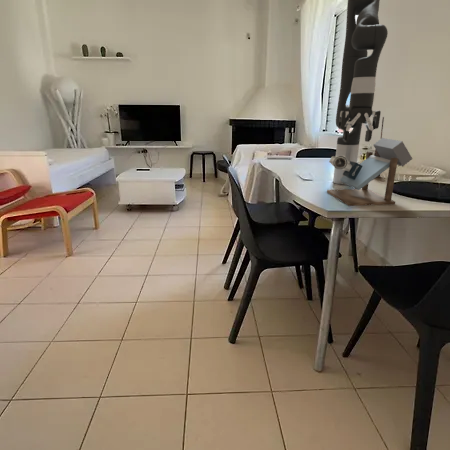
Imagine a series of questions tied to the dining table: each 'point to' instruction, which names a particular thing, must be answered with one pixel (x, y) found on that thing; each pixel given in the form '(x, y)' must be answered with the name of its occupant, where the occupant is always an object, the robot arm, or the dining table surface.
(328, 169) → the dining table surface
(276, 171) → the dining table surface
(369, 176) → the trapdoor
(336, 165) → the watch
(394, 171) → the trapdoor frame
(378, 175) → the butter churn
